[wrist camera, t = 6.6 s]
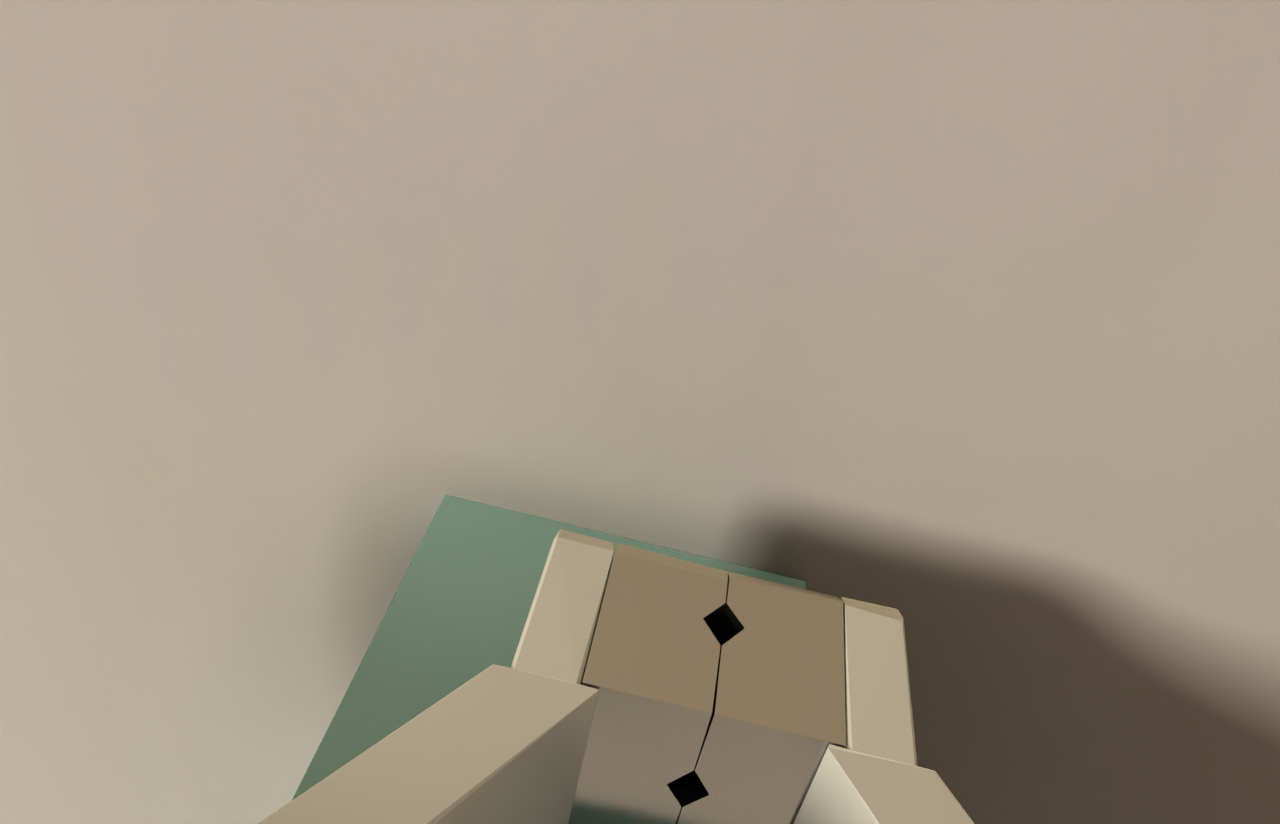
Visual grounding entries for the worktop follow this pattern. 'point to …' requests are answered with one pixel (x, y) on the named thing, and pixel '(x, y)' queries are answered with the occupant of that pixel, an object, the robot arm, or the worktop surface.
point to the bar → (455, 620)
